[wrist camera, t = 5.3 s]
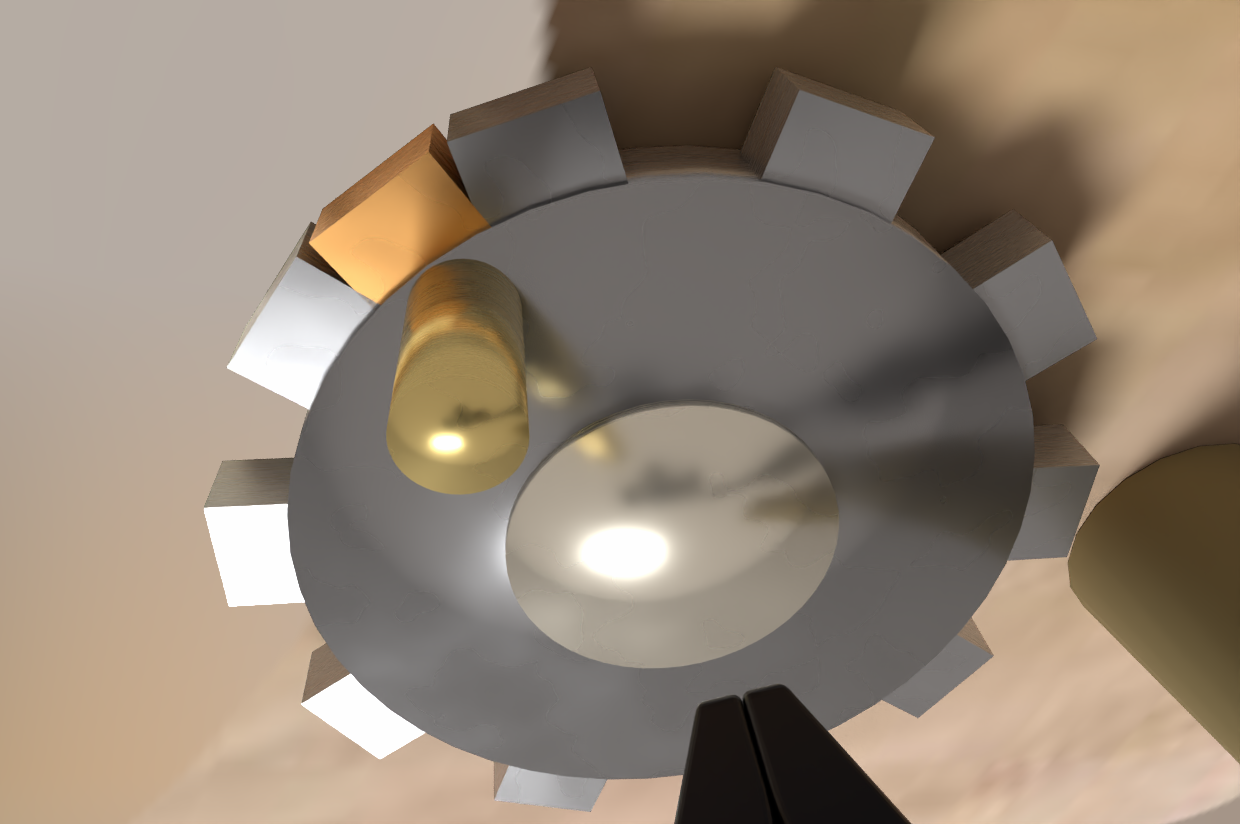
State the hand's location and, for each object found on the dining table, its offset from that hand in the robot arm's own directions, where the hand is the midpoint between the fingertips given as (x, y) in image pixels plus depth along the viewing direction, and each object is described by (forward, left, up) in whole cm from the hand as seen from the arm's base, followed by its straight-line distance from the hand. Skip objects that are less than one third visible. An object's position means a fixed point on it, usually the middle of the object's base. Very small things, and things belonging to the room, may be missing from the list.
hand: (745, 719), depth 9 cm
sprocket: (0, +6, -12) cm, 13 cm away
